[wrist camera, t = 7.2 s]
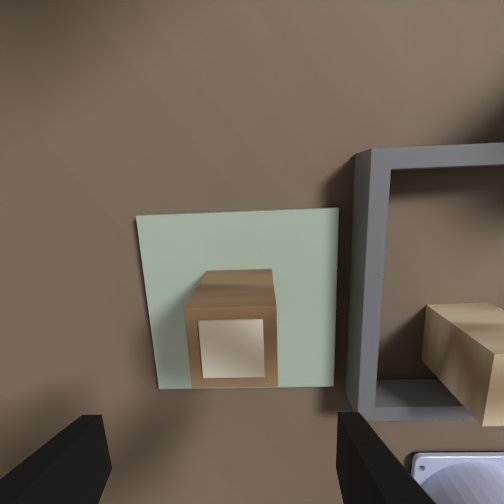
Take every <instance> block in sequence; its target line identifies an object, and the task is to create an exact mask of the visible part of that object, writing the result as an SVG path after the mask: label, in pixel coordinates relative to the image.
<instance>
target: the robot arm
mask: <svg viewBox="0 0 504 504" xmlns="http://www.w3.org/2000/svg"><path fill="white" fill-rule="evenodd" d="M111 469H112V466H111V461H110V456H109V451H108V446H107V440H106V435H105V430H104V425H103V419H102V415H82V416H81V417H79V418H78V419H76V420H75V421H74V422H72V423H71V424H70V425H69V426H67V427H66V428H65V429H63V430H62V431H61V432H60V433H58V434H57V435H56V436H55V437H53V438H52V439H51V440H50V441H48V442H47V443H46V444H44V445H43V446H42V447H41V448H39V449H38V450H37V451H36V452H34V453H33V454H32V455H31V456H29V457H28V458H27V459H26V460H24V461H23V462H22V463H20V464H19V465H18V466H17V467H15V468H14V469H13V470H12V471H10V472H9V473H8V474H6V475H5V476H4V477H3V478H1V479H0V504H98V502H99V500H100V498H101V495H102V493H103V490H104V488H105V485H106V482H107V480H108V477H109V475H110V472H111ZM336 470H337V474H338V479H339V484H340V489H341V494H342V498H343V503H344V504H504V452H448V453H417V454H415V455H414V456H413V460H412V469H411V474H410V473H409V472H408V471H407V470H406V469H405V468H404V466H403V465H402V464H401V463H400V462H399V461H398V459H397V458H396V457H395V456H394V455H393V453H392V452H391V451H390V450H389V448H388V447H387V446H386V445H385V444H384V442H383V441H382V440H381V439H380V437H379V436H378V435H377V434H376V432H375V431H374V430H373V429H372V427H371V426H370V425H369V424H368V422H367V421H366V420H365V418H364V417H363V416H362V415H361V414H360V413H359V412H338V425H337V455H336Z"/></svg>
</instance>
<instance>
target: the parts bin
mask: <svg viewBox="0 0 504 504" xmlns="http://www.w3.org/2000/svg"><path fill="white" fill-rule="evenodd" d="M483 166H504V143H483V144H461V145H440V146H418V147H396V148H375V149H369V150H366V151H363V152H360V153H357V154H355V169H354V194H353V219H352V244H351V269H350V293H349V318H348V343H347V368H346V395H347V397H348V400H349V402H350V405H351V407H352V410H353V412H359V413H360V414H361V415H362V416H363V417H364V418H365V420H366V421H434V420H476V419H475V418H474V417H473V416H472V414H471V413H470V412H469V411H468V410H467V409H466V408H465V407H464V406H463V405H462V404H461V403H460V401H459V400H458V399H457V398H456V397H455V396H454V395H453V394H452V393H451V392H450V391H449V389H448V388H447V387H446V386H445V385H444V384H443V383H442V382H441V381H440V380H439V379H393V380H377V365H378V351H379V336H380V322H381V307H382V293H383V278H384V263H385V249H386V234H387V220H388V205H389V191H390V176H391V170H414V169H437V168H460V167H483Z"/></svg>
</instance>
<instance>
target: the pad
mask: <svg viewBox="0 0 504 504" xmlns="http://www.w3.org/2000/svg"><path fill="white" fill-rule="evenodd" d="M136 221H137V228H138V236H139V243H140V250H141V258H142V265H143V273H144V280H145V288H146V295H147V303H148V310H149V317H150V325H151V332H152V340H153V347H154V355H155V362H156V370H157V377H158V384H159V389H198V388H192V386H191V376H190V366H189V356H188V346H187V336H186V326H185V316H184V307H185V305H186V304H187V302H188V300H189V299H190V297H191V296H192V294H193V292H194V291H195V289H196V288H197V286H198V284H199V283H200V281H201V280H202V278H203V276H204V275H205V273H206V271H212V270H247V269H272V276H273V283H274V290H275V298H276V305H277V354H278V387H329V386H334V359H335V324H336V290H337V255H338V221H339V208H337V207H330V208H304V209H278V210H252V211H226V212H200V213H174V214H148V215H137V216H136ZM235 388H263V387H235Z"/></svg>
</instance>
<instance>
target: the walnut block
mask: <svg viewBox="0 0 504 504" xmlns="http://www.w3.org/2000/svg"><path fill="white" fill-rule="evenodd" d="M184 316H185V326H186V336H187V346H188V356H189V366H190V376H191V386H192V388H235V387H278V354H277V305H276V298H275V290H274V283H273V276H272V269H247V270H212V271H206V273H205V275H204V276H203V278H202V280H201V281H200V283H199V284H198V286H197V288H196V289H195V291H194V292H193V294H192V296H191V297H190V299H189V300H188V302H187V304H186V305H185V307H184Z"/></svg>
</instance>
